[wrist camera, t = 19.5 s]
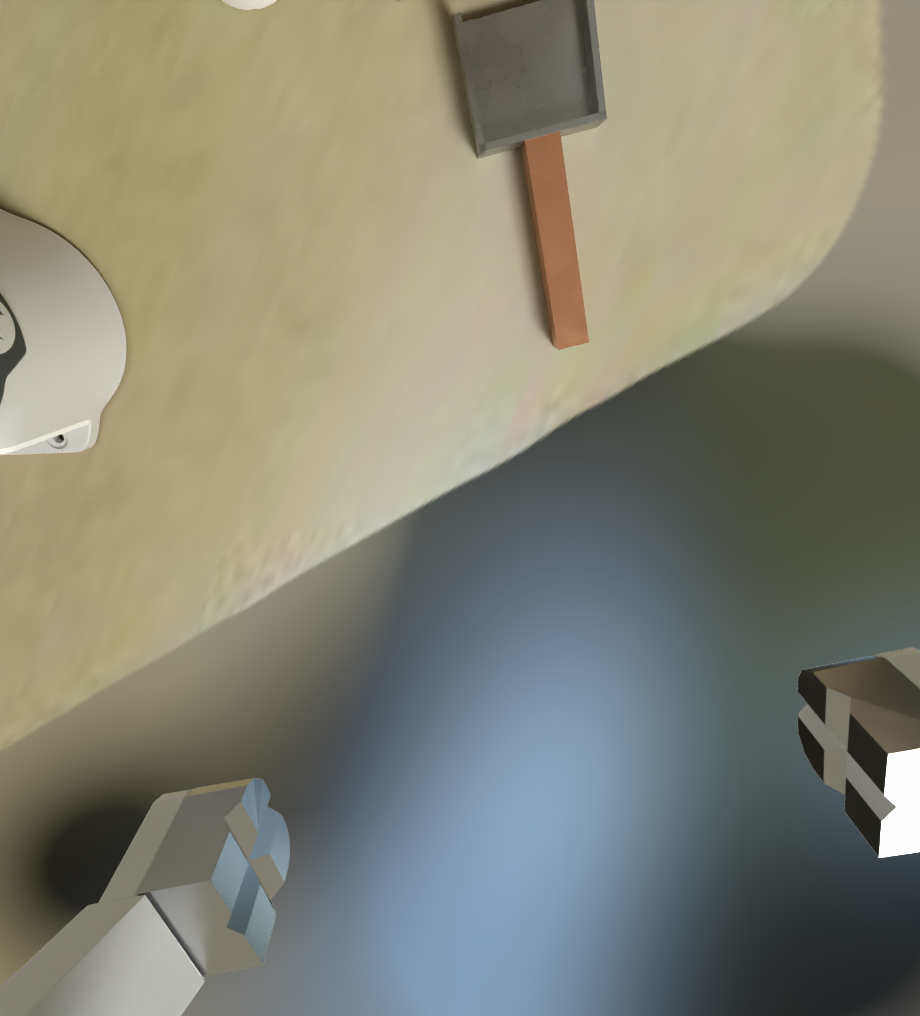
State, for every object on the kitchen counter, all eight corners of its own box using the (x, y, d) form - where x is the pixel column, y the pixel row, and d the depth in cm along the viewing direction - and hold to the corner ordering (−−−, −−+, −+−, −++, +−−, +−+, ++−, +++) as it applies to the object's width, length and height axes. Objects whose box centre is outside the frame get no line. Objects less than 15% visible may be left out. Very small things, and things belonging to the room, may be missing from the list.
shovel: (514, 354, 42) (518, 359, 40) (453, 29, 35) (453, 14, 33) (620, 329, 42) (630, 332, 40) (581, -7, 34) (590, -25, 32)
